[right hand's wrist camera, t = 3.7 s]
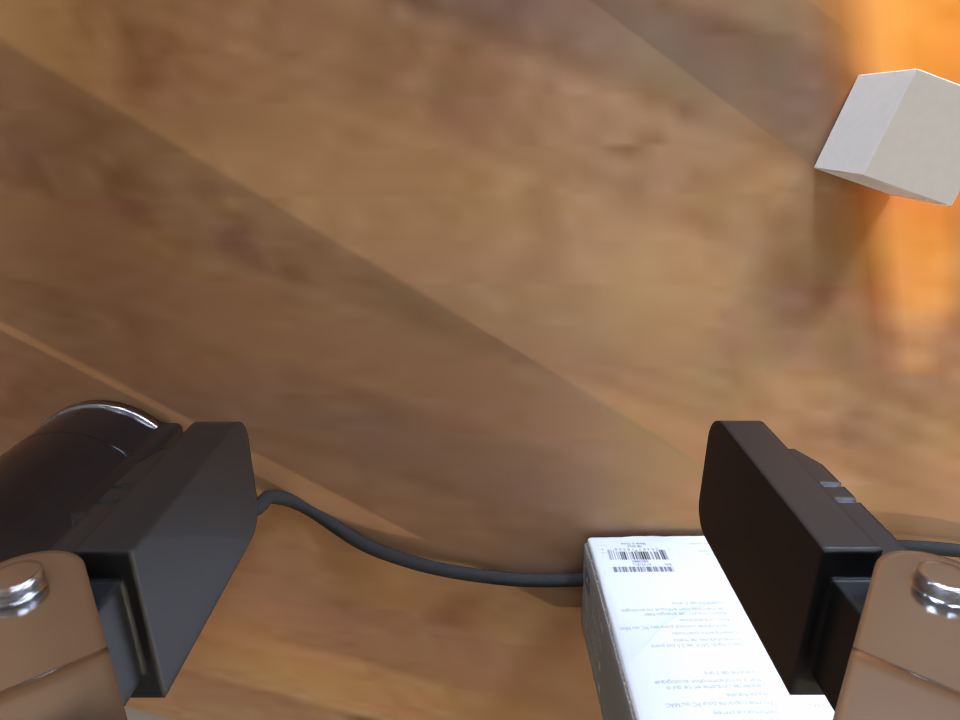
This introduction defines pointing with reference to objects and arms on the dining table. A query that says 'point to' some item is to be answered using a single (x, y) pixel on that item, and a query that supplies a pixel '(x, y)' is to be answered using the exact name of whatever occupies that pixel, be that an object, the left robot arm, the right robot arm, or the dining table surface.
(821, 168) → the block
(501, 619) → the dining table surface
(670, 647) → the hard drive box
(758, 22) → the dining table surface
